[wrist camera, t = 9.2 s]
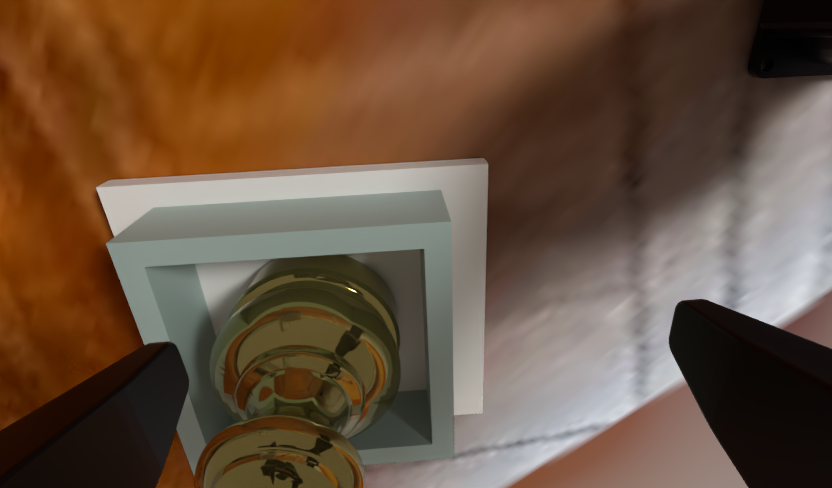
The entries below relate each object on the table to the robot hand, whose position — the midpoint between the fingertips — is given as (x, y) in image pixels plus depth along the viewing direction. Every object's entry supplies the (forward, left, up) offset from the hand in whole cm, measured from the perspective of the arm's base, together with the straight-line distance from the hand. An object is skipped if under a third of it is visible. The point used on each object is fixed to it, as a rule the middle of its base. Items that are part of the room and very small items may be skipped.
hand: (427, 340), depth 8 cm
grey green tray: (+5, +7, -13) cm, 15 cm away
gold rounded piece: (+4, +7, -12) cm, 14 cm away
